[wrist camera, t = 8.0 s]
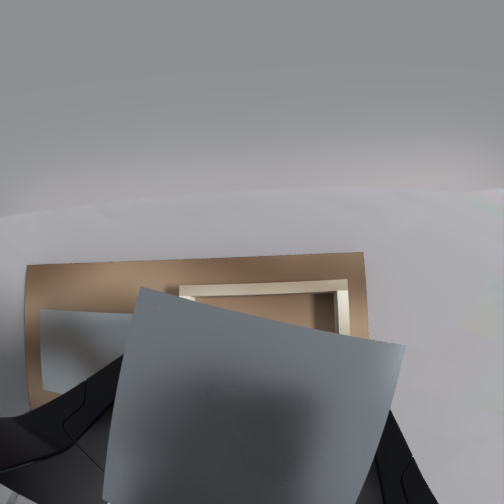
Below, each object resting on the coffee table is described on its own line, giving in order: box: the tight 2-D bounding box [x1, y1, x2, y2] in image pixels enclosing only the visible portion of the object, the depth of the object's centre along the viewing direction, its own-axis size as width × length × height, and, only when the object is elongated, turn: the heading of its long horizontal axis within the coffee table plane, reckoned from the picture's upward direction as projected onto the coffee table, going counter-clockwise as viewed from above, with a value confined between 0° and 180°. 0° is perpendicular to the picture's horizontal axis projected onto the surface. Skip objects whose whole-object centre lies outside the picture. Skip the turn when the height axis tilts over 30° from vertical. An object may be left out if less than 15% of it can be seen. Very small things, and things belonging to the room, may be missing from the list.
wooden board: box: [25, 252, 369, 410], centre depth 17 cm, size 13×24×2 cm, turn 91°
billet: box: [102, 286, 405, 504], centre depth 11 cm, size 5×5×13 cm
